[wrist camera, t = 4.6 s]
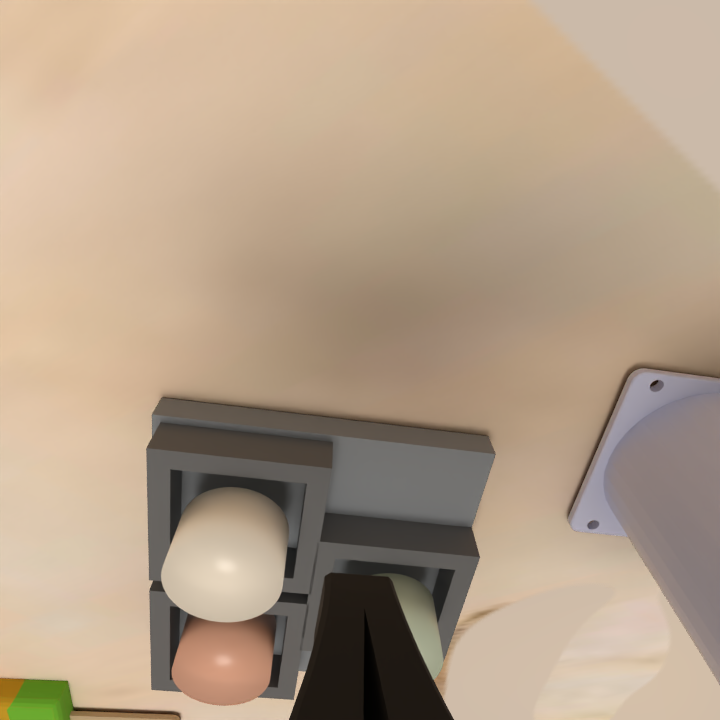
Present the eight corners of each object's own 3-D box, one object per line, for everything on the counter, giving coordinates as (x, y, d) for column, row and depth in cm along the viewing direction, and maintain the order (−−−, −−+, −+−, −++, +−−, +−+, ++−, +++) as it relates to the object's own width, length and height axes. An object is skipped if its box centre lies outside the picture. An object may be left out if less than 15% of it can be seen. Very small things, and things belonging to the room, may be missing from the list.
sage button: (443, 578, 22) (454, 632, 20) (422, 643, 24) (430, 700, 22) (343, 568, 22) (344, 622, 19) (330, 636, 23) (329, 692, 21)
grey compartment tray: (488, 436, 22) (506, 481, 20) (418, 657, 29) (425, 712, 26) (161, 397, 21) (137, 439, 19) (163, 637, 27) (144, 693, 25)
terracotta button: (280, 597, 24) (274, 648, 22) (272, 656, 26) (266, 708, 24) (187, 589, 24) (171, 639, 22) (185, 649, 25) (171, 702, 23)
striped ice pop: (-112, 662, 29) (-141, 699, 27) (182, 674, 30) (172, 710, 28) (-85, 725, 31) (-110, 762, 29) (185, 733, 32) (176, 770, 31)
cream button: (294, 493, 20) (288, 543, 18) (284, 572, 22) (277, 626, 19) (181, 481, 19) (160, 531, 17) (179, 562, 21) (161, 617, 19)
